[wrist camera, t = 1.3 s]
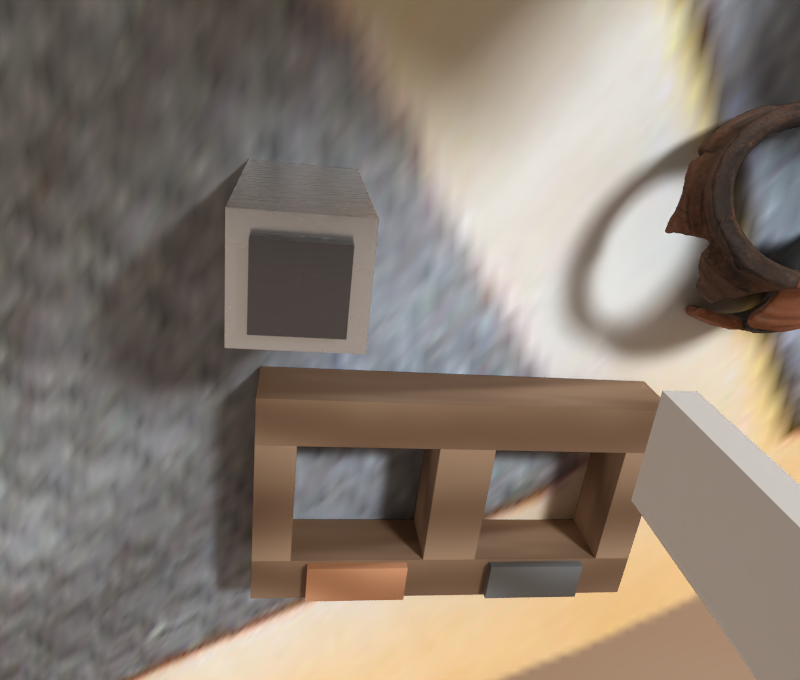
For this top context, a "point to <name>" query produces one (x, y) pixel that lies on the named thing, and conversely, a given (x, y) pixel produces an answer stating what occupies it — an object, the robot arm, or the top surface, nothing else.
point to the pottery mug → (735, 228)
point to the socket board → (446, 484)
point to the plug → (299, 259)
